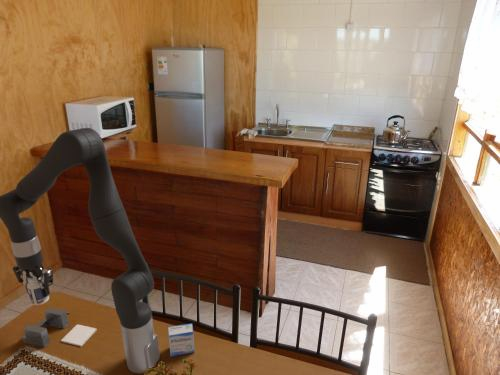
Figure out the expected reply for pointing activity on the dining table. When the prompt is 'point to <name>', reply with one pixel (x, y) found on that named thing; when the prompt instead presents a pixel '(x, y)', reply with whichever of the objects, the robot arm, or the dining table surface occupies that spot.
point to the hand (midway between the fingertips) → (38, 294)
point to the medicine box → (181, 339)
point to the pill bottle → (35, 292)
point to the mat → (79, 335)
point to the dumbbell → (39, 332)
